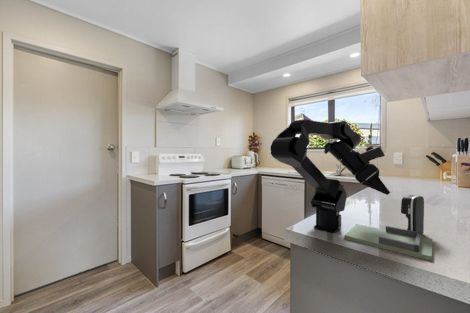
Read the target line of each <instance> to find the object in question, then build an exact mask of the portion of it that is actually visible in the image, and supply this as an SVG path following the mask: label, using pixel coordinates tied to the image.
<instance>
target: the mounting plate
mask: <svg viewBox="0 0 470 313" xmlns="http://www.w3.org/2000/svg"><path fill="white" fill-rule="evenodd" d="M343 239H344V240H347V241H350V242H355V243H358V244H363V245H367V246H371V247H375V248H378V249H382V250H386V251H391V252H394V253H399V254H403V255H405V256H410V257H415V258H419V259H422V260H426V261H430V262H432V261H433V260H432V258H433V239H432V238H429V237H428V238H427V237H423V236H422V234H421V232H417V231H412V230H407V229H406V228H400V227H395V226H391V225H385V229H384V228H378V227H373V226H367V225H363V224H360V223H359V224H358V223H356V224H355V225H354V226H353V227H351V229H350V230H348V231H347V232H346V233H345V234H344V235H343Z"/></svg>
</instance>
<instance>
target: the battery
mask: <svg viewBox="0 0 470 313" xmlns="http://www.w3.org/2000/svg"><path fill="white" fill-rule="evenodd" d="M400 213H401V214H403V215H405V218H407V229H406V230H412V231H417V232H421V235H423V234H424V229H425V227H424V224H425V223H424V222H425V220H424V219H425V199H424V197H423V196H421V195H415V194H409V195H406V196H403V198H402V199H401V202H400Z"/></svg>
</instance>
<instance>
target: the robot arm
mask: <svg viewBox="0 0 470 313" xmlns="http://www.w3.org/2000/svg"><path fill="white" fill-rule="evenodd" d="M297 135H299V136H297ZM310 135H311V136H320V137H321V138H322V139H324V140H327V141H329V140H333V141H331V142H327V143H326V144H325V145H324V146H323V148H324V150H323V151H324V154H325V155H327V154H328V153H329V154H331V155H332V156H333V157H334V158H335V159H336V160H337V161H338V162H339V163H340V164H341V165H343V167H345V169H347V170H348V171H349V172H350V173H351V174H352V175H353V176H354V178H355V180H356V181H357V183H358V182H359V183H360V184H361V185H363V186H366V187H368V188H370V189H372V190H374V191H377V192H380V193H382V194H384V195H385V196H386V195H387V196H389V194H391V191H390V190H389V189H388V188H387V186H386V185H385V184H384V182H383V181H382V179H381V178H380V169H379V168H378V167H377V166H376V165H375V164H374V163H371V161H373V160H376V159H379V158H383V157H385V156H386V155H385V153H384V151H383V149H382V147H381V146H377V147H372V146H368V147H367V148H365V151H364V152H362V153H360V152H359V151H356V150H354V149H355V148H356V147H358V146H359V145H360V143H361V142H362V137H361V135H360V134H359V133H357V132H356V131H354V128H352V127H351V126H350V124H348V122H347V121H346V120H341V121H339V120H338V121H331V122H326V121H325V122H324V121H317V120H310V119H307V118H303V119H297V120H292V121H291V123H290V124H289V125H288V126H287V128H285V129H284V130H282V132H280V133H278V135H276V137H275V139H273V140H272V142H271V144H270V155H271V157H273V159H274V160H276V161H279V163H282V164H285V165H287V166H291V168H292V169H294V170H295V171H296V172H297V173H298V174H299V175H300V177H302V178H303V180H305V181H306V182H307V183H308V184H309V185H310V186H311V187H312V188H313V189H314V195H313V196H312V198H311V200H310V204H311V207H312V208H315V225H314V226H313V228H314V229H316V230H322V231H324V232H329V233H335V234H336V232H338V231H339V230H340V229H342V215H341V214H340V212H343V211H345V209H346V202H347V197H348V196H347V195H348V194H347V192H346V190H345V186H344V185H343V184H342V183H341V182H340V180H338V179H337V178H335V179H332V178H328V177H326V176H325V175H324V173H323V172H322V171H321V170H320V169H319V168H318V167H317V166H316V164H314V162H313V160H311V159H310V158H309V157H308V154H307V153H308V146H309V144H310Z"/></svg>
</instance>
